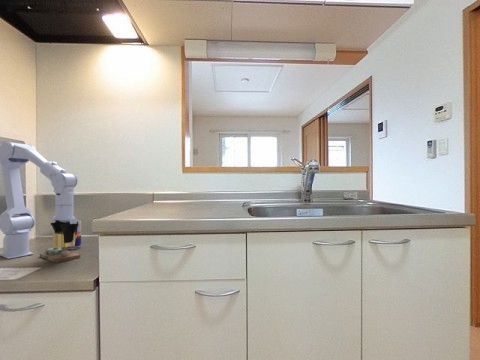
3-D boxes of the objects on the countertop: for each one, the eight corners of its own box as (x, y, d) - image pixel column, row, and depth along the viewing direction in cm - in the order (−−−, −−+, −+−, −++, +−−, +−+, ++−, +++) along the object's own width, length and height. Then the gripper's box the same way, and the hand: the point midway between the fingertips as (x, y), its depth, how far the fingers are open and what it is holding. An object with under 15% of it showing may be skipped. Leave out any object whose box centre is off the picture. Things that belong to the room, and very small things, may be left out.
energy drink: (70, 250, 113) (70, 221, 114) (64, 248, 116) (64, 220, 116) (83, 247, 118) (83, 220, 118) (77, 246, 121) (77, 219, 121)
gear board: (40, 257, 103) (40, 244, 103) (63, 252, 110) (63, 240, 110) (56, 263, 95) (56, 249, 96) (80, 257, 102) (80, 245, 102)
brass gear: (50, 246, 99) (50, 232, 100) (70, 243, 105) (70, 230, 105) (57, 248, 96) (57, 234, 96) (77, 244, 102) (77, 231, 102)
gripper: (43, 205, 102) (43, 241, 102) (61, 207, 94) (61, 246, 93) (64, 203, 108) (64, 237, 107) (82, 205, 99) (82, 242, 99)
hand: (64, 241), depth 101 cm, fingers closed on brass gear, 6 cm apart
